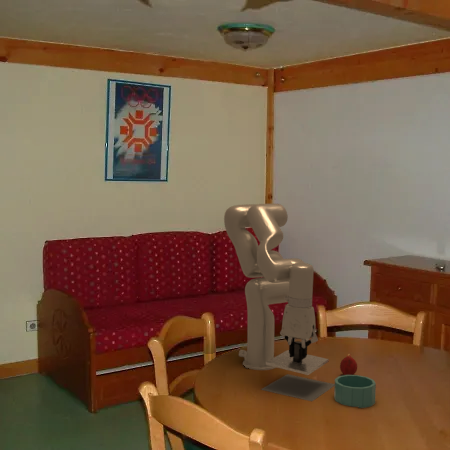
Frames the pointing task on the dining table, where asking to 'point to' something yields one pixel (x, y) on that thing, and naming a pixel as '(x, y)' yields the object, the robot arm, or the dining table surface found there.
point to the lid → (297, 361)
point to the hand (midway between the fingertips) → (297, 356)
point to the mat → (299, 387)
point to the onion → (348, 365)
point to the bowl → (355, 391)
